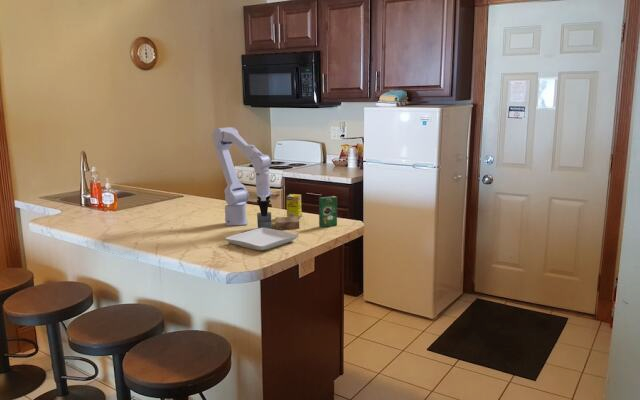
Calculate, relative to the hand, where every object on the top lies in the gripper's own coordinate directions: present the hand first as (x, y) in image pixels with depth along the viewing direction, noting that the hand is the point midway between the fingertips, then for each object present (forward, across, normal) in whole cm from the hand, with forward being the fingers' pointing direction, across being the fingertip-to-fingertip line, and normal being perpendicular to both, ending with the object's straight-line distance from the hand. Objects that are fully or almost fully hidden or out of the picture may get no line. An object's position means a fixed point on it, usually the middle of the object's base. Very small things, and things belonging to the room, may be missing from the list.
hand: (264, 214), depth 222 cm
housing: (+7, 0, 0) cm, 7 cm away
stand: (+7, +3, -10) cm, 12 cm away
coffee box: (+7, 0, -28) cm, 29 cm away
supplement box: (+7, +18, -14) cm, 24 cm away
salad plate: (+7, -22, +1) cm, 23 cm away
